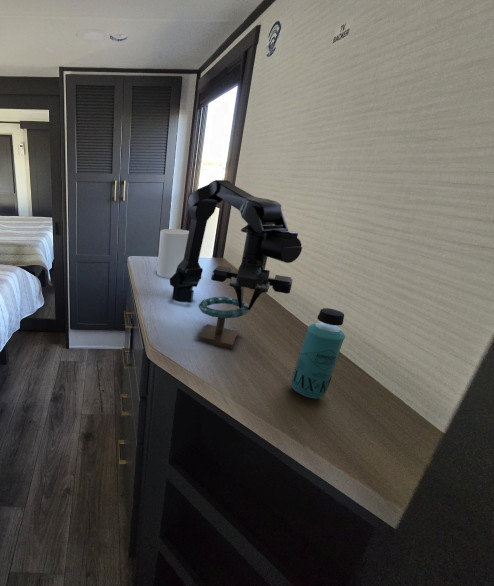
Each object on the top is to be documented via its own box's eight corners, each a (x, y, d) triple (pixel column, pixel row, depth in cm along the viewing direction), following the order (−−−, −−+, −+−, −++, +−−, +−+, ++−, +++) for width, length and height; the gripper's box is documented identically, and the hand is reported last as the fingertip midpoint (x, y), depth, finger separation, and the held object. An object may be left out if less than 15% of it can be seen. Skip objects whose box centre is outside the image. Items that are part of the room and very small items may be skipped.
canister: (151, 271, 150) (154, 229, 143) (174, 268, 155) (179, 228, 148) (167, 280, 138) (171, 235, 131) (192, 276, 144) (197, 233, 136)
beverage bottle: (282, 385, 70) (304, 304, 63) (309, 384, 71) (335, 304, 64) (301, 406, 64) (328, 318, 57) (331, 404, 65) (362, 317, 58)
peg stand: (198, 340, 89) (201, 316, 86) (206, 328, 96) (209, 305, 93) (231, 349, 84) (235, 324, 82) (237, 336, 92) (241, 312, 89)
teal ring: (193, 315, 86) (193, 308, 85) (205, 300, 96) (206, 294, 96) (244, 322, 79) (244, 314, 79) (252, 305, 89) (252, 298, 89)
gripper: (210, 253, 77) (202, 311, 83) (297, 265, 68) (281, 329, 74) (220, 245, 86) (212, 298, 91) (298, 255, 77) (284, 312, 82)
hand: (244, 308), depth 84 cm, fingers closed on teal ring, 2 cm apart
